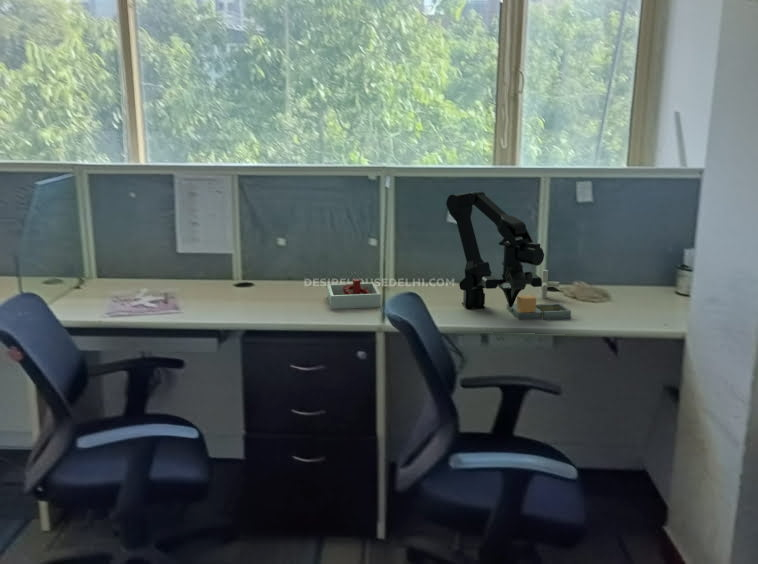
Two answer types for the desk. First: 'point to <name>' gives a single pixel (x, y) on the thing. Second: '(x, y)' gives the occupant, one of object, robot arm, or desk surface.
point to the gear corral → (353, 297)
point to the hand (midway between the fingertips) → (510, 307)
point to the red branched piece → (355, 288)
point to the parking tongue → (511, 307)
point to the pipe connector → (546, 284)
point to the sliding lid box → (545, 312)
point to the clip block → (526, 303)
